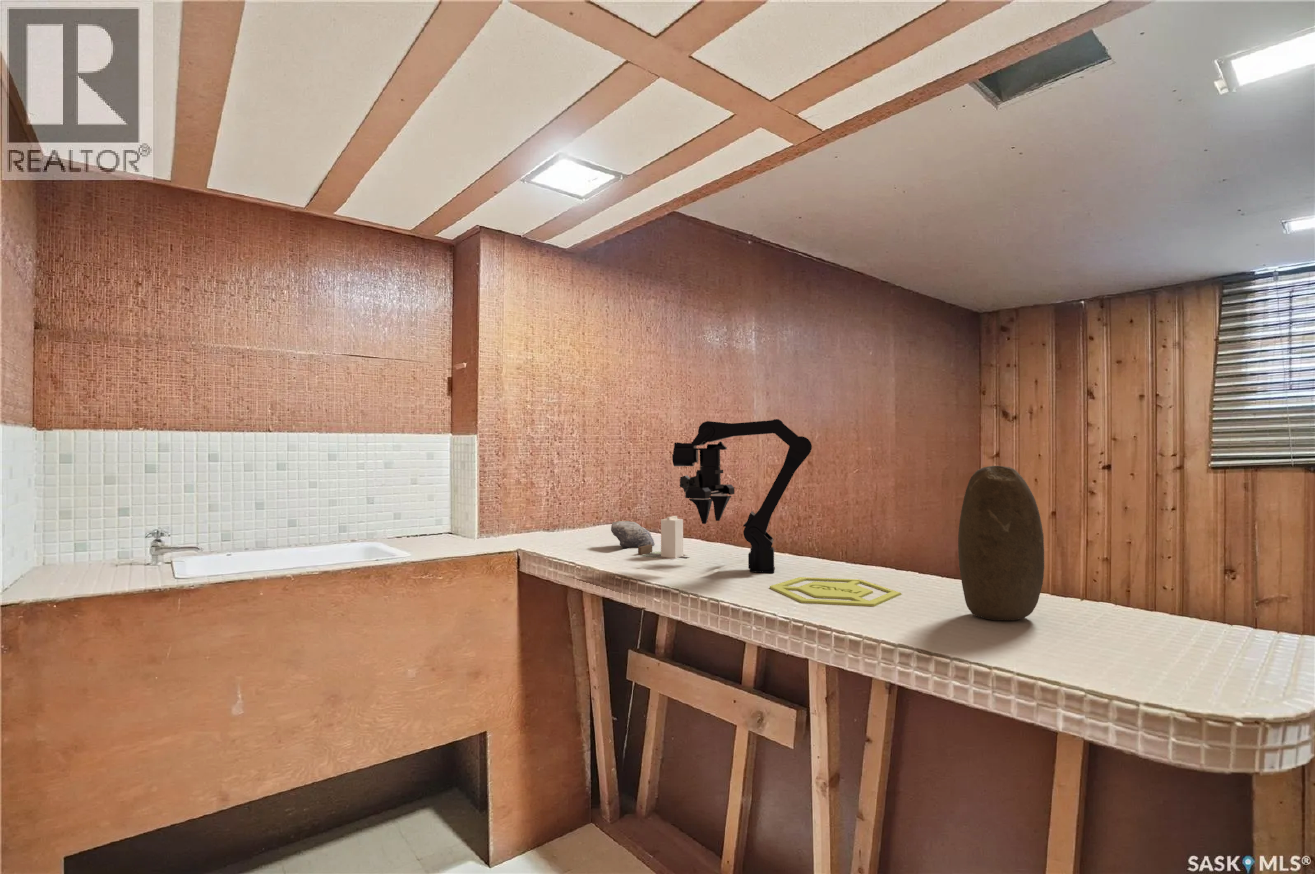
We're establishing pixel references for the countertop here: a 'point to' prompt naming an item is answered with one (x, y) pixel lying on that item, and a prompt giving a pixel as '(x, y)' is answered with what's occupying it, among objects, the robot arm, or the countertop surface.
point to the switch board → (648, 551)
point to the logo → (834, 591)
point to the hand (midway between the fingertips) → (711, 522)
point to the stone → (1000, 545)
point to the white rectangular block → (672, 537)
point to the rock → (631, 534)
